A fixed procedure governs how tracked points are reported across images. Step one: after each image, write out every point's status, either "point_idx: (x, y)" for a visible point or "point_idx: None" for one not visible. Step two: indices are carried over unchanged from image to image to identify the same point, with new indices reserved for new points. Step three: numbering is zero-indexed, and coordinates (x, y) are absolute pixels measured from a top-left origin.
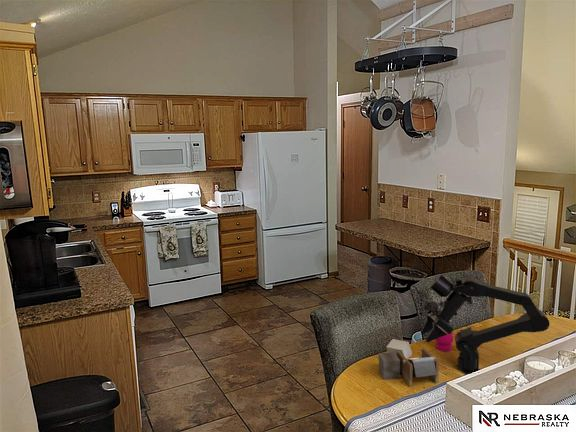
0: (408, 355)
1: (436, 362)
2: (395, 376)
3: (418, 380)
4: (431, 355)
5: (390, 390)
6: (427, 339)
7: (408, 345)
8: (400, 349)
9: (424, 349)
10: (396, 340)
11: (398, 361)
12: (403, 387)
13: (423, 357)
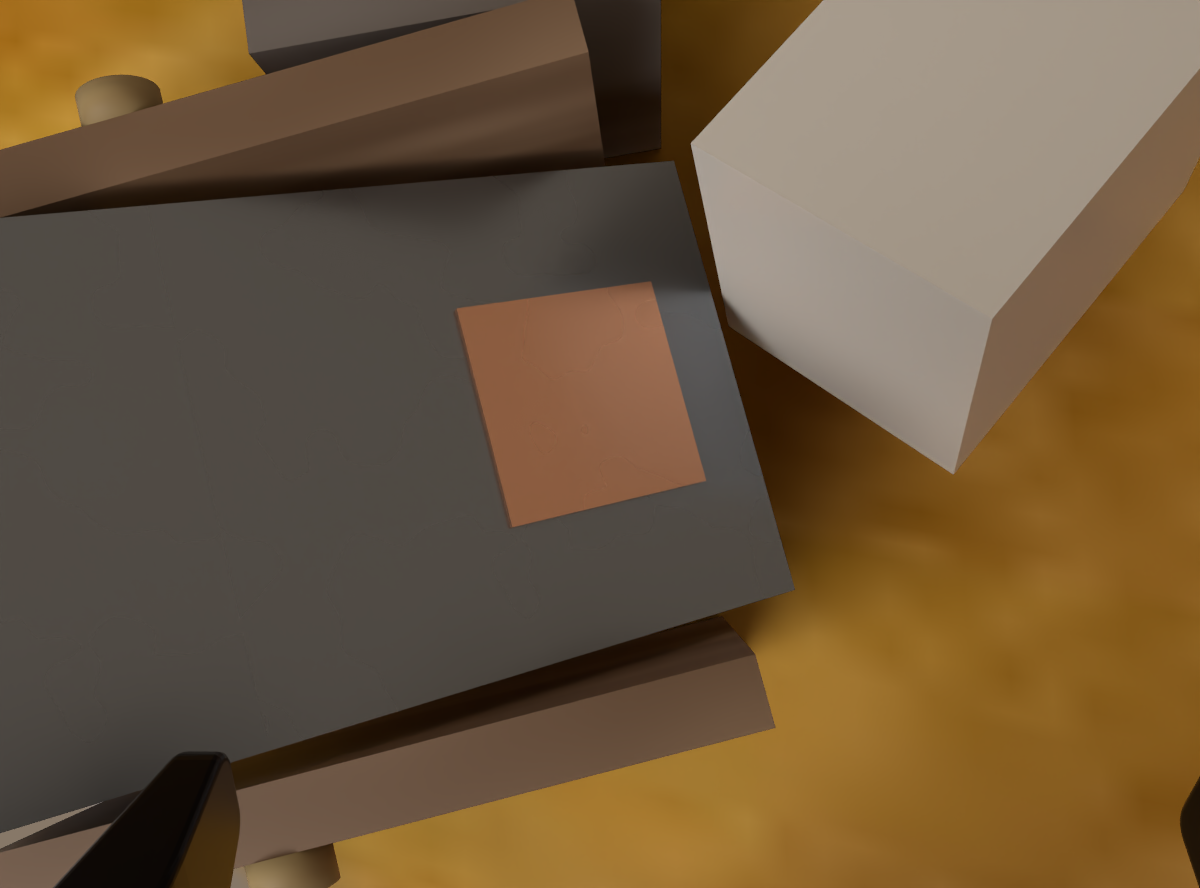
0: (836, 371)
1: None
2: None
3: None
4: (344, 827)
5: (32, 16)
6: (129, 830)
7: (944, 336)
8: (736, 110)
9: (695, 719)
10: (1184, 33)
11: (250, 28)
12: None
13: (533, 643)
